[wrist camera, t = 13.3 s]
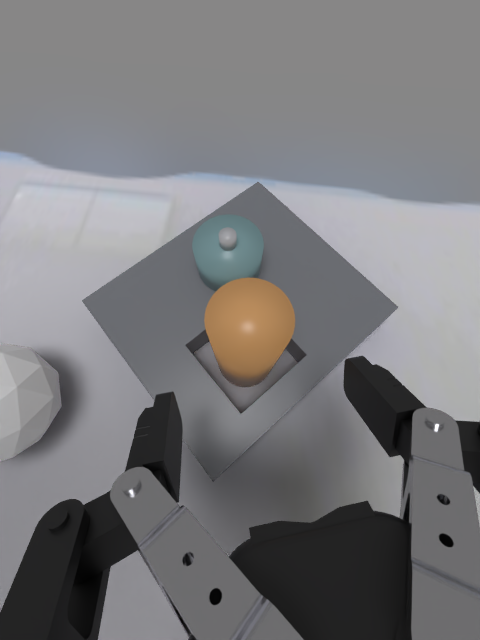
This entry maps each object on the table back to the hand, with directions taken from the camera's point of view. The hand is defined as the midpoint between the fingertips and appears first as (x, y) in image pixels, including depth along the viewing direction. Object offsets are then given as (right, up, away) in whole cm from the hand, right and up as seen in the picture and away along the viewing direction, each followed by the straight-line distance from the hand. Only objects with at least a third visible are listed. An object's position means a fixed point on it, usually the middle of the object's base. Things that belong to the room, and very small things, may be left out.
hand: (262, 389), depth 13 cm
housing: (-1, +3, +11) cm, 12 cm away
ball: (-17, -3, +9) cm, 20 cm away
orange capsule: (-1, 0, +10) cm, 10 cm away
